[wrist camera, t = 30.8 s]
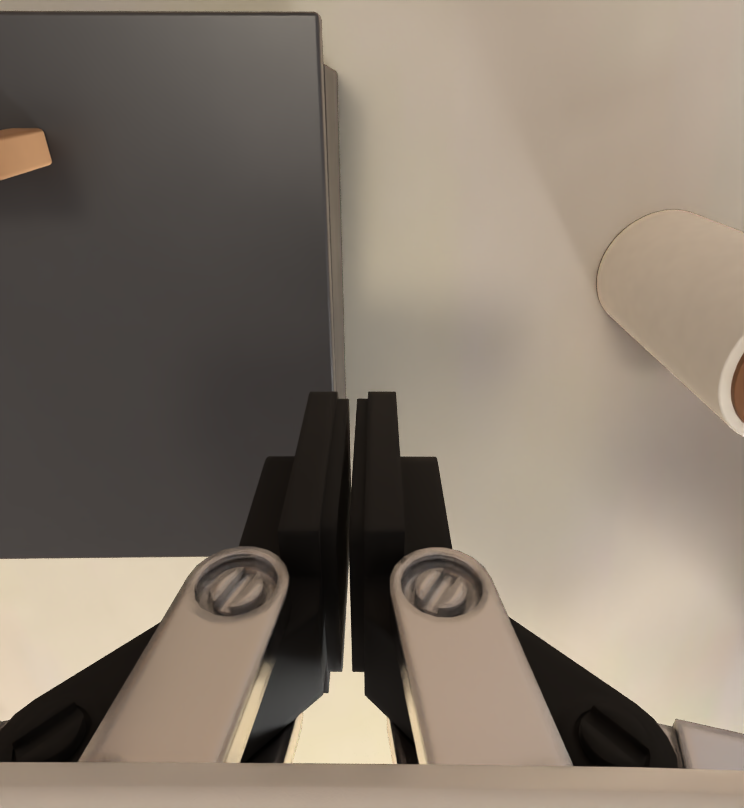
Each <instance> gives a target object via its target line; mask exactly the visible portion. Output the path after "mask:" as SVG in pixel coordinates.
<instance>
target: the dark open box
mask: <svg viewBox="0 0 744 808" xmlns="http://www.w3.org/2000/svg"><path fill="white" fill-rule="evenodd" d="M323 70H324V96H325V122H326V148H327V173H328V199H329V225H330V251H331V276H332V302H333V328H334V354H335V379H336V392H338V396H339V399H346V382H345V345H344V307H343V270H342V233H341V195H340V158H339V121H338V83H337V72H336V71H335V70H333V69H331V68H330V67H328V66H326V65H325V64H323Z"/></svg>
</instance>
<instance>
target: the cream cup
mask: <svg viewBox="0 0 744 808" xmlns="http://www.w3.org/2000/svg"><path fill="white" fill-rule="evenodd" d="M597 292H598V297H599V300H600V303H601V305H602V307H603V309H604V310H605V311H606V313H607V314H608V315H609V316H610V317H611V318H612V319H614V320H615V321H616V322H617V323H618V324H619V325H620V326H621V327H622V328H623V329H624V330H625V331H626V332H628V333H629V334H630V335H631V336H632V337H633V338H634V339H635V340H636V341H637V342H638V343H639V344H641V345H642V346H643V347H644V348H645V349H646V350H647V351H648V352H649V353H650V354H651V355H652V356H654V357H655V358H656V359H657V360H658V361H659V362H660V363H661V364H662V365H663V366H664V367H665V368H667V369H668V370H669V371H670V372H671V373H672V374H673V375H674V376H675V377H676V378H677V379H678V380H680V381H681V382H682V383H683V384H684V385H685V386H686V387H687V388H688V389H689V390H690V391H691V392H693V393H694V394H695V395H696V396H697V397H698V398H699V399H700V400H701V401H702V402H703V403H704V404H705V405H707V406H708V407H709V408H710V409H711V410H712V411H713V412H714V413H715V414H716V415H717V416H718V417H720V418H721V419H722V420H723V421H724V422H725V423H726V424H727V425H728V426H729V427H730V428H731V429H733V430H734V431H735V432H736V433H738V434H739V435H741V436H742V437H744V232H742V231H739V230H737V229H734V228H731V227H729V226H726V225H724V224H721V223H718V222H716V221H713V220H710V219H708V218H705V217H702V216H700V215H697V214H695V213H692V212H689V211H684V210H663V211H659V212H655V213H652V214H649V215H647V216H644V217H642V218H640V219H638V220H637V221H635V222H634V223H632V224H631V225H629V226H628V227H627V228H625V229H624V230H623V231H622V232H621V233H620V234H619V235H618V236H617V237H616V238H615V239H614V241H613V242H612V243H611V244H610V246H609V247H608V249H607V251H606V252H605V254H604V256H603V258H602V261H601V263H600V266H599V270H598V275H597Z"/></svg>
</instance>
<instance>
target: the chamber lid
mask: <svg viewBox="0 0 744 808" xmlns="http://www.w3.org/2000/svg"><path fill="white" fill-rule="evenodd" d="M310 392H336V379H335V354H334V328H333V302H332V276H331V251H330V225H329V199H328V173H327V148H326V122H325V96H324V70H323V45H322V20H321V17H320V15H319V14H318V13H316V12H149V11H0V559H29V558H122V557H209V556H211V555H213V554H216V553H218V552H220V551H222V550H225V549H230V548H235V547H239V543H240V540H241V537H242V534H243V531H244V527H245V524H246V521H247V518H248V514H249V511H250V508H251V505H252V501H253V498H254V495H255V492H256V488H257V485H258V482H259V479H260V475H261V472H262V469H263V466H264V463H265V460H266V458H267V457H268V456H295V453H296V449H297V444H298V440H299V436H300V431H301V427H302V422H303V418H304V414H305V409H306V405H307V401H308V396H309V393H310Z"/></svg>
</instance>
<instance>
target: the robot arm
mask: <svg viewBox="0 0 744 808" xmlns="http://www.w3.org/2000/svg"><path fill="white" fill-rule="evenodd" d="M349 565H350V601H351V637H352V671H353V672H364V676H365V696H366V697H367V698H368V699H369V700H371V701H372V702H373V703H374V704H375V705H376V706H377V707H378V708H379V709H380V710H381V711H382V712H383V713H384V714H385V715H386V716H387V732H388V738H389V744H390V750H391V756H392V762H393V764H316V763H292V762H293V759H294V755H295V751H296V748H297V744H298V740H299V737H300V733H301V729H302V721H303V711H305V710H306V709H307V708H308V707H309V706H310V705H311V704H313V703H314V702H315V701H316V700H317V699H318V698H320V697H321V696H322V695H323V693H328V692H329V680H330V672H342V668H343V653H344V637H345V620H346V603H347V587H348V570H349ZM0 808H744V734H741V733H737V732H733V731H728V730H724V729H719V728H715V727H710V726H706V725H701V724H697V723H692V722H688V721H683V720H679V719H675V722H674V724H673V726H672V727H671V726H667V725H662V724H658V723H657V722H656V721H655V720H654V719H653V718H652V717H651V716H650V715H649V714H648V713H646V712H645V711H644V710H643V709H642V708H640V707H639V706H638V705H637V704H636V703H634V702H633V701H631V700H630V699H628V698H627V697H625V696H624V695H622V694H621V693H619V692H618V691H617V690H615V689H614V688H612V687H611V686H609V685H608V684H606V683H605V682H603V681H602V680H600V679H599V678H598V677H596V676H595V675H593V674H592V673H590V672H589V671H587V670H586V669H584V668H583V667H581V666H580V665H579V664H577V663H576V662H574V661H573V660H571V659H570V658H568V657H567V656H565V655H564V654H562V653H561V652H560V651H558V650H557V649H555V648H554V647H552V646H551V645H549V644H548V643H546V642H545V641H543V640H542V639H540V638H539V637H538V636H536V635H535V634H533V633H532V632H530V631H529V630H527V629H526V628H524V627H523V626H521V625H520V624H519V623H517V622H516V621H514V620H513V619H511V618H510V617H508V615H507V613H506V610H505V608H504V606H503V603H502V601H501V599H500V597H499V594H498V592H497V590H496V587H495V585H494V583H493V581H492V578H491V577H490V575H489V574H488V572H487V571H486V569H485V568H484V566H482V565H481V564H480V563H479V562H478V561H476V560H475V559H474V558H473V557H471V556H469V555H467V554H464V553H462V552H460V551H457V550H453V549H452V545H451V539H450V533H449V527H448V521H447V515H446V509H445V503H444V497H443V491H442V485H441V479H440V473H439V467H438V462H437V458H436V457H400V448H399V432H398V417H397V402H396V392H368V399H357V411H356V426H355V441H354V457H353V472H352V487H351V465H350V423H349V399H339V396H338V392H310V393H309V396H308V401H307V405H306V409H305V414H304V418H303V422H302V427H301V431H300V436H299V440H298V444H297V449H296V453H295V456H268V457H267V458H266V460H265V463H264V466H263V469H262V472H261V475H260V479H259V482H258V485H257V488H256V492H255V495H254V498H253V501H252V505H251V508H250V511H249V514H248V518H247V521H246V524H245V527H244V531H243V534H242V537H241V540H240V543H239V547H235V548H230V549H225V550H222V551H220V552H218V553H216V554H213V555H211V556H209V557H208V558H206V559H205V560H204V561H202V562H201V563H200V564H198V565H197V566H196V567H195V568H194V570H193V571H192V572H191V573H190V575H189V576H188V577H187V579H186V580H185V582H184V584H183V586H182V587H181V589H180V591H179V592H178V594H177V596H176V597H175V599H174V601H173V602H172V604H171V606H170V607H169V609H168V611H167V612H166V614H165V616H164V617H163V619H162V621H161V622H160V623H158V624H157V625H155V626H154V627H152V628H150V629H149V630H147V631H145V632H144V633H142V634H141V635H139V636H137V637H136V638H134V639H132V640H131V641H129V642H128V643H126V644H124V645H123V646H121V647H119V648H118V649H116V650H115V651H113V652H111V653H110V654H108V655H106V656H105V657H103V658H102V659H100V660H98V661H97V662H95V663H93V664H92V665H90V666H89V667H87V668H85V669H84V670H82V671H80V672H79V673H77V674H76V675H74V676H72V677H71V678H69V679H67V680H66V681H64V682H63V683H61V684H59V685H58V686H56V687H54V688H53V689H51V690H50V691H48V692H46V693H45V694H43V695H41V696H40V697H38V698H36V699H35V700H33V701H32V702H31V703H29V704H28V705H27V706H25V707H24V708H23V709H21V710H20V711H19V712H17V713H16V714H15V715H14V716H13V717H12V718H11V719H10V720H8V721H3V722H1V721H0Z"/></svg>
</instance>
